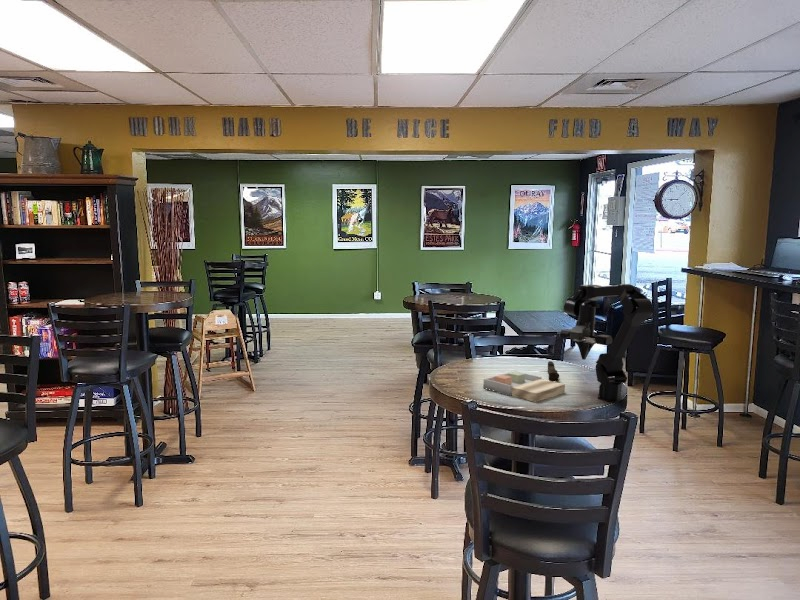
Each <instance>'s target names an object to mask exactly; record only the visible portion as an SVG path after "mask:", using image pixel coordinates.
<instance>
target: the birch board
mask: <svg viewBox="0 0 800 600" xmlns="http://www.w3.org/2000/svg"><path fill="white" fill-rule="evenodd" d="M565 389H566V384H564V383H561V382H558V381H556V382H553V381H549V379H548V380H547V379H543V378H542V379H539V380H535V381H532V382H528V383H525V384H521V385H518V386H515V387H512V397H515V398H520V399H523V400H527V401H531V402H534V403H537V402H541V401H543V400H546V399H549V398H552V397H554V396H555V397H556V396H558V395H561V394H564V393H565V391H566V390H565ZM540 400H541V401H540Z"/></svg>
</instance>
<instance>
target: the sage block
mask: <svg viewBox="0 0 800 600" xmlns="http://www.w3.org/2000/svg"><path fill="white" fill-rule="evenodd" d="M514 371H515V372H513V371H510V372H511V373H509V372H507V373H508V376H510V377H512V382H514V383H521V382H525V374H526V373H525V374H524V372H521V373H520V371H517V370H514ZM516 371H517V372H516Z"/></svg>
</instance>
